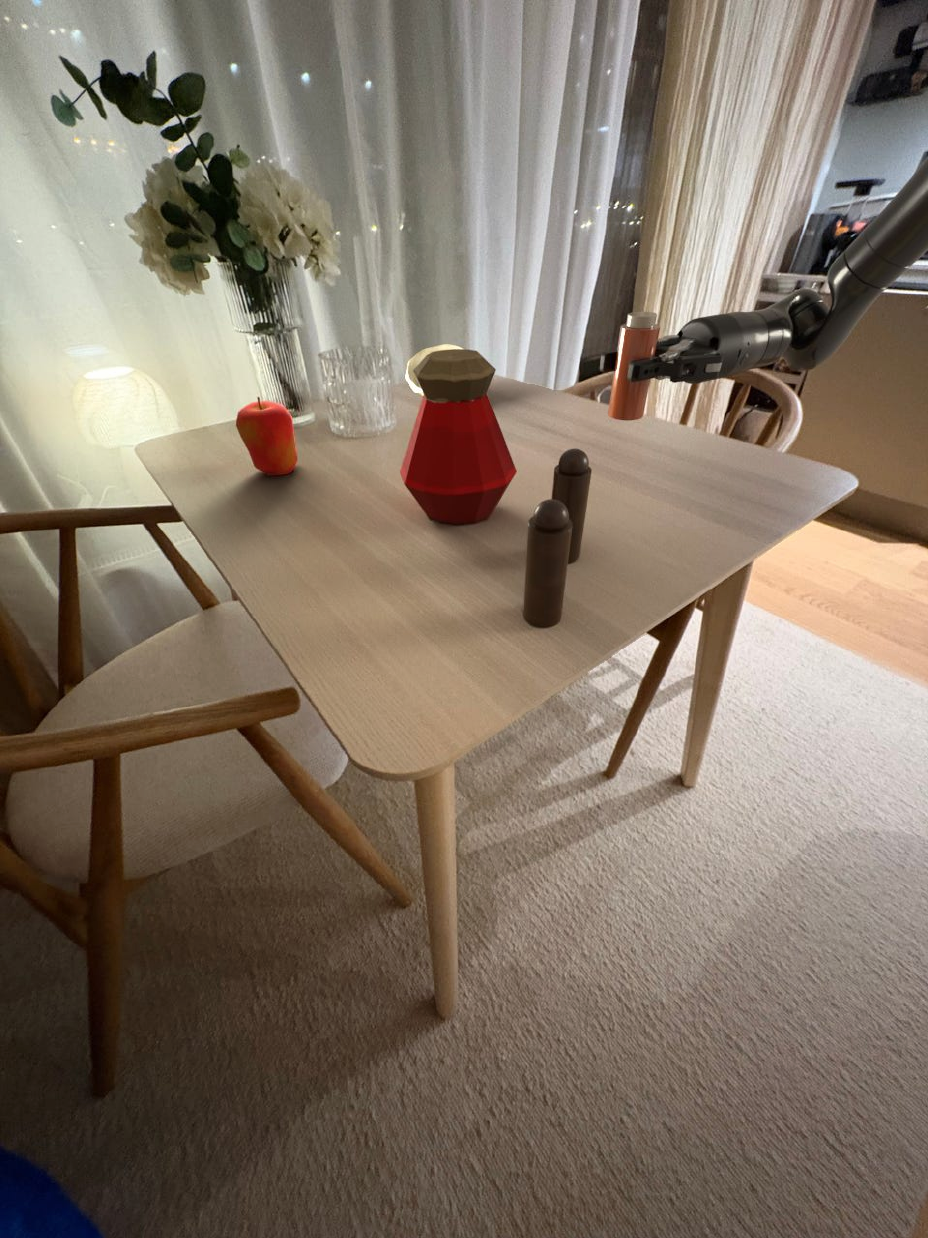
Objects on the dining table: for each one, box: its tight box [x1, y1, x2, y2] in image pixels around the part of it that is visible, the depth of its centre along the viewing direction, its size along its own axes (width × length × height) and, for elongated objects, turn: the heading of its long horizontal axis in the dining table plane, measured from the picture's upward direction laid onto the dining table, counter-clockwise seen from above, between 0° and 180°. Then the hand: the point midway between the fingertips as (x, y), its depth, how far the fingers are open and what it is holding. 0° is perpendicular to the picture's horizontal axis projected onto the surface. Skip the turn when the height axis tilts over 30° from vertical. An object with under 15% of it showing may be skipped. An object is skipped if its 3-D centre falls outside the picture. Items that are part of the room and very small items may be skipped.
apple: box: [235, 396, 298, 476], centre depth 79 cm, size 9×8×12 cm
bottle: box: [399, 348, 517, 527], centre depth 63 cm, size 16×14×20 cm
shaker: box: [607, 311, 661, 422], centre depth 60 cm, size 4×4×11 cm
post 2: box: [551, 447, 593, 565], centre depth 56 cm, size 4×4×13 cm
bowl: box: [405, 343, 463, 397], centre depth 104 cm, size 15×14×10 cm
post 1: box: [522, 498, 573, 629], centre depth 48 cm, size 4×4×13 cm
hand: (616, 367), depth 59 cm, fingers closed on shaker, 4 cm apart
